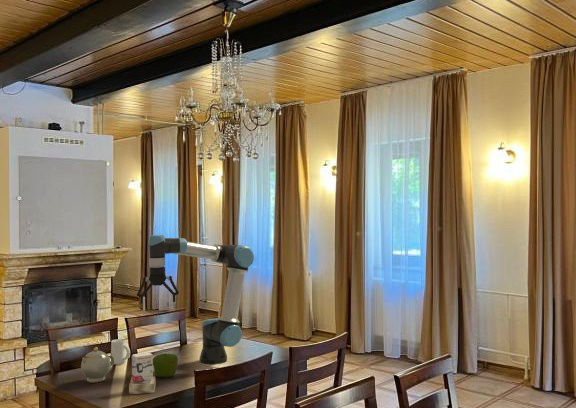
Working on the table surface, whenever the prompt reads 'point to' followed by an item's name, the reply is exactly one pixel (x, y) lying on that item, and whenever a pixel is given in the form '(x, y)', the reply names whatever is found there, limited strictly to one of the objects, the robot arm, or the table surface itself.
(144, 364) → the ink box
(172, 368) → the apple
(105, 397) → the table surface
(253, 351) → the table surface
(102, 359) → the teapot
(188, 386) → the table surface
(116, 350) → the mug
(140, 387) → the plinth
